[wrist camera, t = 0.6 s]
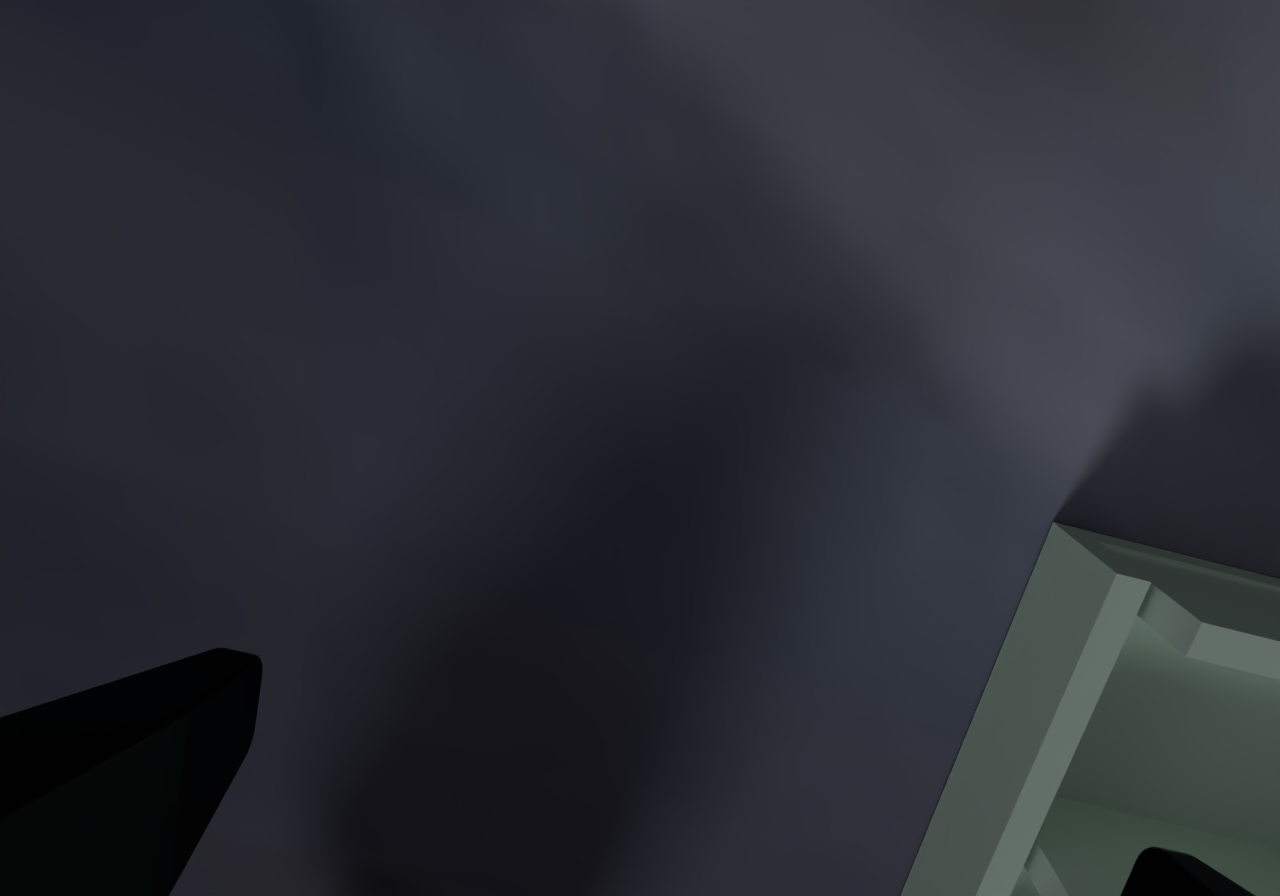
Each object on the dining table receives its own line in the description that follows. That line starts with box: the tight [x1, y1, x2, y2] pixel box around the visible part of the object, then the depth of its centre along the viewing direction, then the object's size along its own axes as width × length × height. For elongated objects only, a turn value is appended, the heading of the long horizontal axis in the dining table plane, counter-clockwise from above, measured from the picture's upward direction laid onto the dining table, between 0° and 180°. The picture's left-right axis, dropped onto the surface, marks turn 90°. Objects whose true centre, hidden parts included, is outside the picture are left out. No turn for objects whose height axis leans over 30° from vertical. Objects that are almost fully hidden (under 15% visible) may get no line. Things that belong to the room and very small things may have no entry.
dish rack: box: [900, 522, 1280, 896], centre depth 22 cm, size 15×11×5 cm
